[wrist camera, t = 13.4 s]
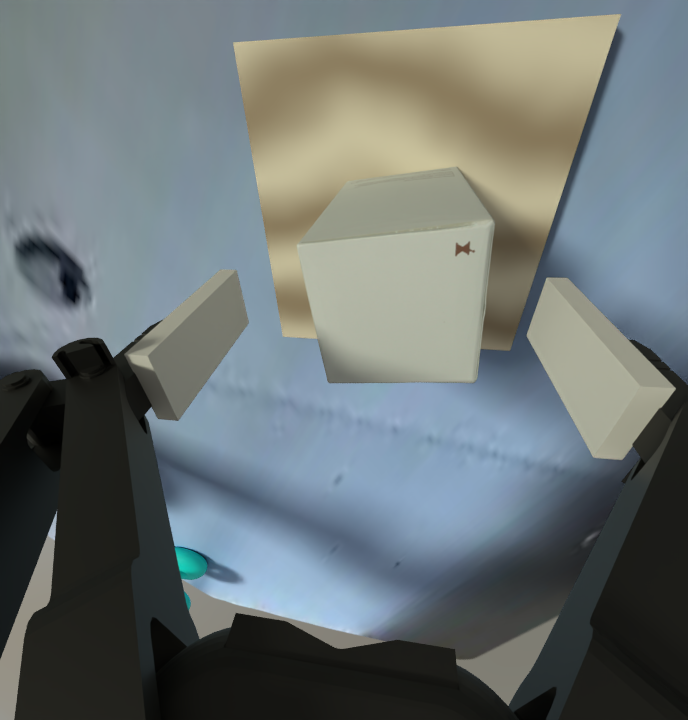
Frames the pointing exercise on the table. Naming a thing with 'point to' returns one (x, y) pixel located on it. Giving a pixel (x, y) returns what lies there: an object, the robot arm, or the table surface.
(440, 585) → the table surface
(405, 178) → the supplement box
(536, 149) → the birch board
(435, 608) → the table surface
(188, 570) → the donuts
